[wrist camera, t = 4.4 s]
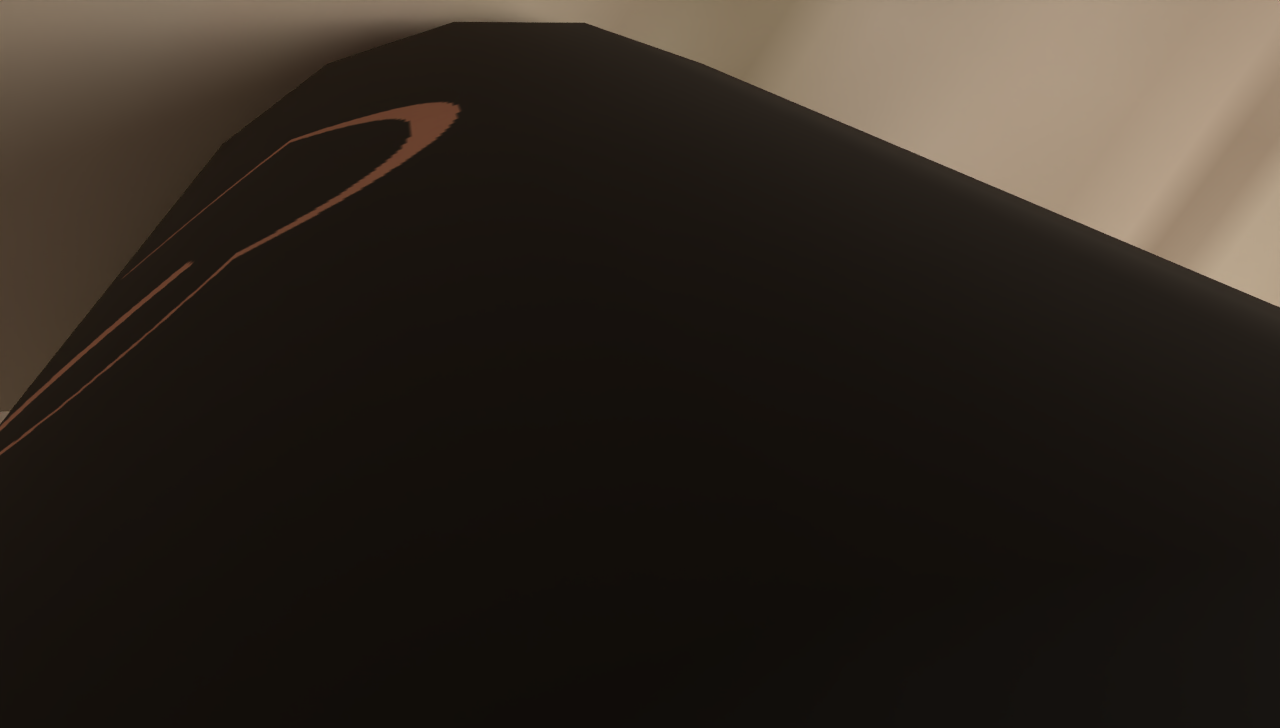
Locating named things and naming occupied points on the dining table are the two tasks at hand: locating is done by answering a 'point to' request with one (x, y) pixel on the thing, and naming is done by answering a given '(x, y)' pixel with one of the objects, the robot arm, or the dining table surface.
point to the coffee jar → (634, 430)
